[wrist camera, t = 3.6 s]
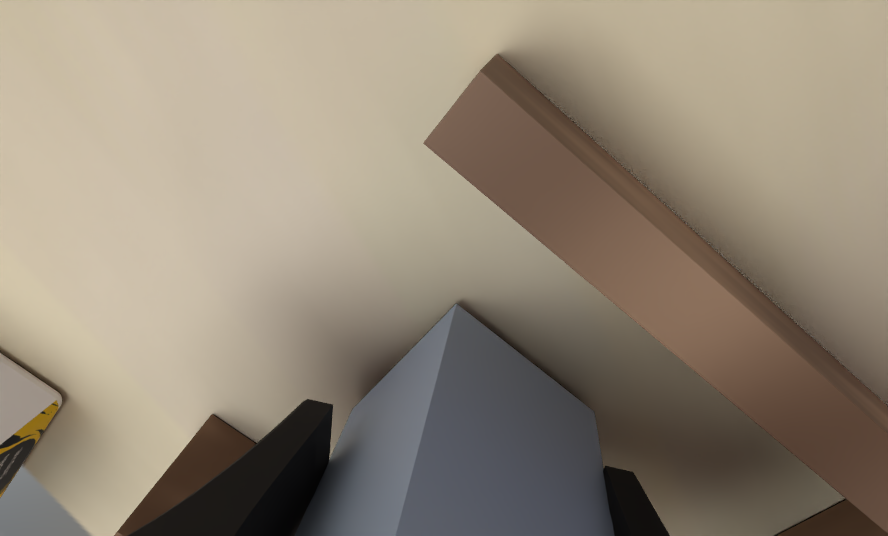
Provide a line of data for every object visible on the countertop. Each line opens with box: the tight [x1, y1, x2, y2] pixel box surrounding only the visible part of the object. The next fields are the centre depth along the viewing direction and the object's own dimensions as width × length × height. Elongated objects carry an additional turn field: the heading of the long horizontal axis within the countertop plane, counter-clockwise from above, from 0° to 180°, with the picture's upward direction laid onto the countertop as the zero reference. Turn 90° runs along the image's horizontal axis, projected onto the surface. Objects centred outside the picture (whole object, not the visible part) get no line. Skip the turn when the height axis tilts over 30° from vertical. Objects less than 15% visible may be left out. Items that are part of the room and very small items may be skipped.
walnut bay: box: [114, 54, 888, 536], centre depth 13 cm, size 15×14×4 cm
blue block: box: [295, 304, 615, 536], centre depth 11 cm, size 4×4×7 cm
